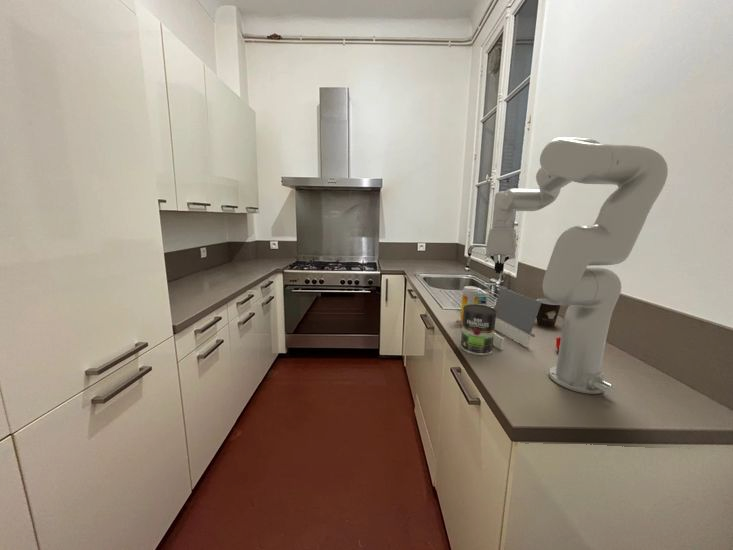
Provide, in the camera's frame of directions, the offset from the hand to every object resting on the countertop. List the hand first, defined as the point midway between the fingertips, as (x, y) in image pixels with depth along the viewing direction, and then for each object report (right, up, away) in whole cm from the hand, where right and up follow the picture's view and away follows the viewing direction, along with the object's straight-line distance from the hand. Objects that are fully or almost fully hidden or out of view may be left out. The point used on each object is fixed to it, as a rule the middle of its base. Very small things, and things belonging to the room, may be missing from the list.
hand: (498, 272), depth 115 cm
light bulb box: (-1, -19, +23) cm, 29 cm away
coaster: (-9, -21, +9) cm, 25 cm away
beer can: (-9, -21, +9) cm, 24 cm away
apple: (+15, -27, -17) cm, 35 cm away
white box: (-3, -24, -5) cm, 25 cm away
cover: (+3, -14, -6) cm, 15 cm away
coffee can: (-14, -26, -15) cm, 33 cm away
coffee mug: (+22, -22, +9) cm, 32 cm away
